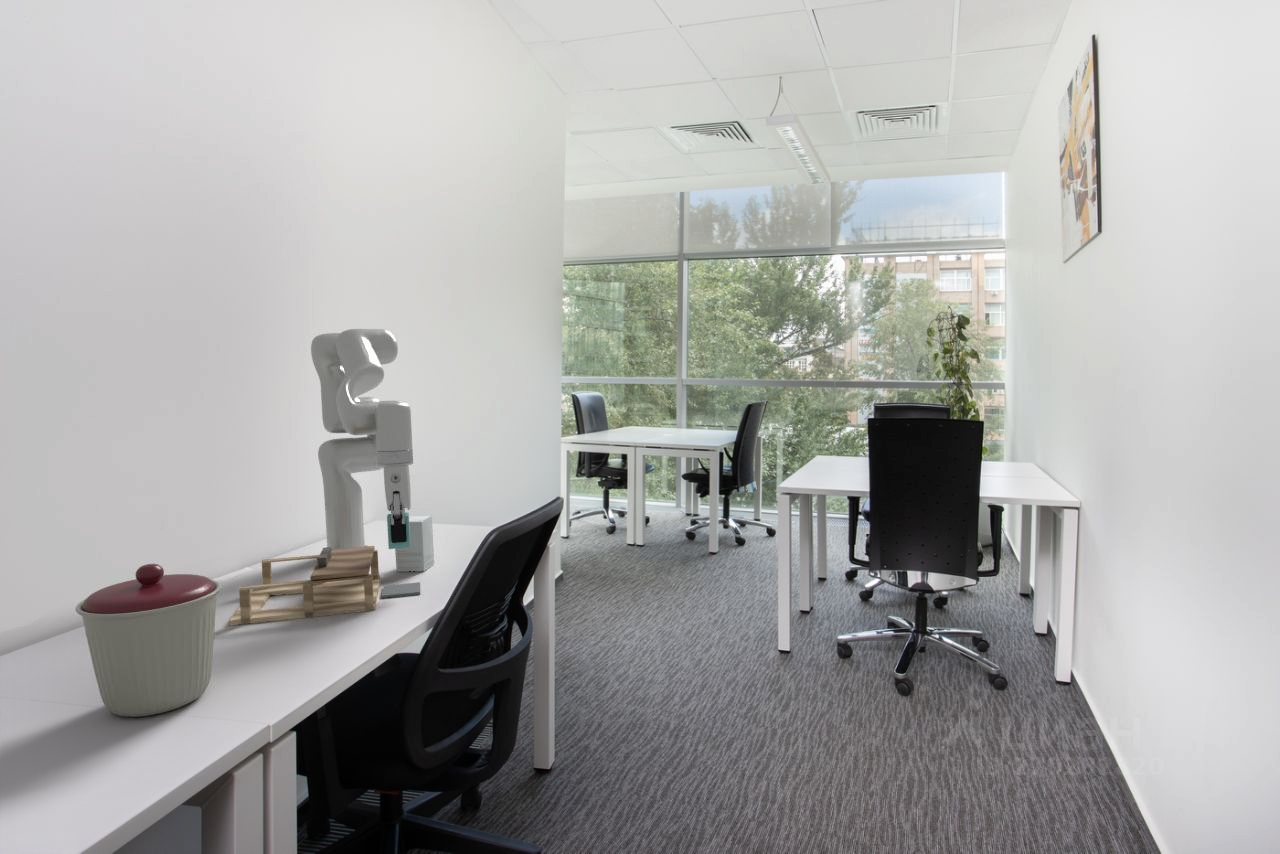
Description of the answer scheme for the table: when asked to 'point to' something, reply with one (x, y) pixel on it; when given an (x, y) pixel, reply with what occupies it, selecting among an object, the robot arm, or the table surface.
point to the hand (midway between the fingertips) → (399, 538)
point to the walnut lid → (343, 562)
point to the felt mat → (401, 590)
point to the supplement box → (417, 546)
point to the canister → (151, 640)
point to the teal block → (407, 543)
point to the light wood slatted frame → (308, 595)
